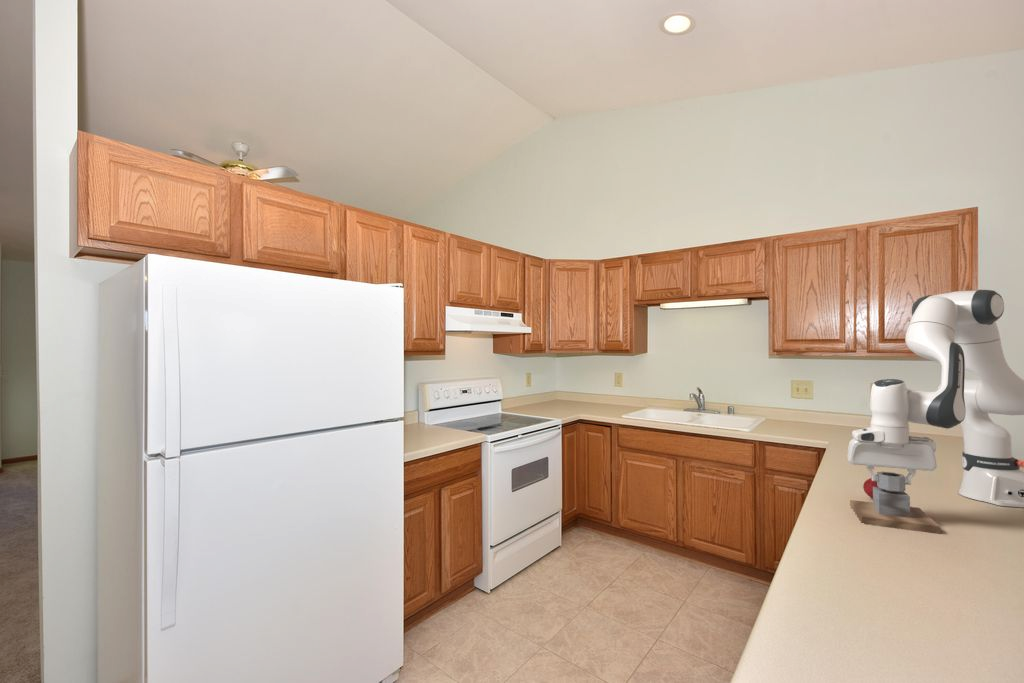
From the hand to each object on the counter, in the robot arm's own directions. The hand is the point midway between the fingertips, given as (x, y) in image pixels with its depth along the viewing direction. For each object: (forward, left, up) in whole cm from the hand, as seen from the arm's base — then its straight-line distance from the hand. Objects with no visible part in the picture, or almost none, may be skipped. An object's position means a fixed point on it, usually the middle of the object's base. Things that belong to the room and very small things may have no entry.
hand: (890, 482), depth 136 cm
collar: (0, 0, -2) cm, 2 cm away
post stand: (0, 0, -11) cm, 11 cm away
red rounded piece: (0, -19, -11) cm, 22 cm away
